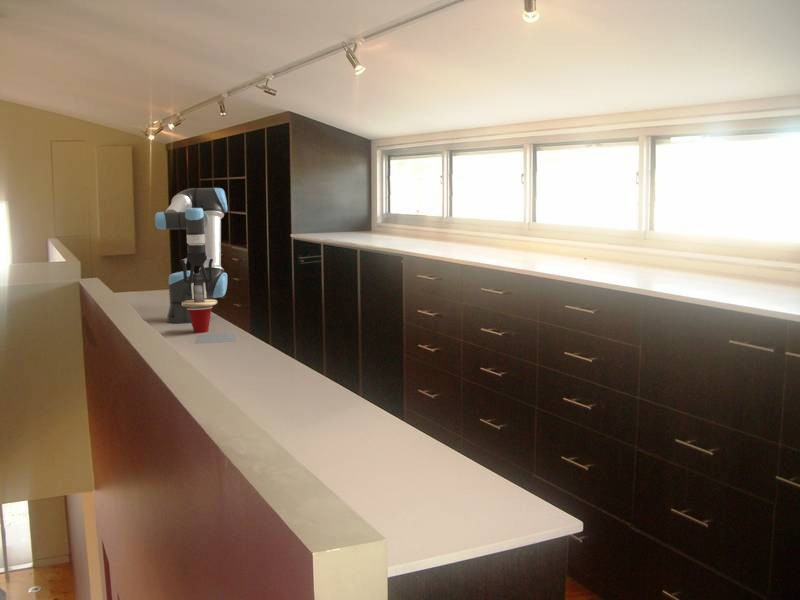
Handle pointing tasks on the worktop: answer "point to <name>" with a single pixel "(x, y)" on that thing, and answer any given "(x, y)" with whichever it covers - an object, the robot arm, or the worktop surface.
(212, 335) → the mat
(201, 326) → the plastic cup
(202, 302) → the lid
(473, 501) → the worktop surface
